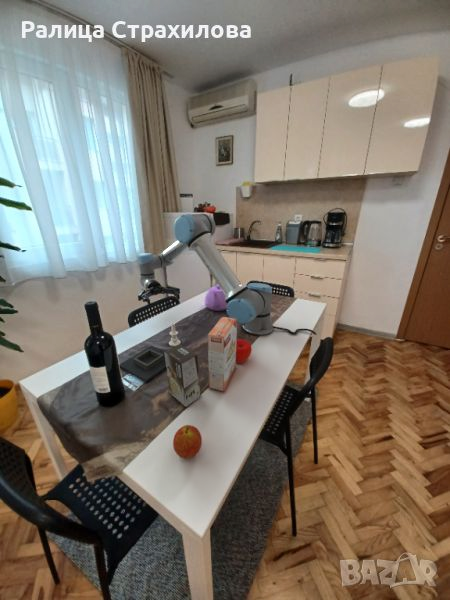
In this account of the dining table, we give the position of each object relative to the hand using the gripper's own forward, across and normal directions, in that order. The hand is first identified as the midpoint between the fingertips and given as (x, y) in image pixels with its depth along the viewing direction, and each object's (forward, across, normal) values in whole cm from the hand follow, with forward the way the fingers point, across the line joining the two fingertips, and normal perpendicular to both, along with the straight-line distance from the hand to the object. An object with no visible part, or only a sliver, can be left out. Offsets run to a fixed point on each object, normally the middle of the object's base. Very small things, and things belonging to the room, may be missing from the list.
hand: (164, 299), depth 108 cm
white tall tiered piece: (+10, 0, -18) cm, 21 cm away
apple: (+35, -19, -18) cm, 44 cm away
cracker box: (+41, -8, -18) cm, 45 cm away
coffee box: (+42, +7, -18) cm, 46 cm away
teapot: (-17, -37, -18) cm, 44 cm away
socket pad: (+19, +13, -18) cm, 29 cm away
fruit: (+60, +14, -18) cm, 64 cm away
